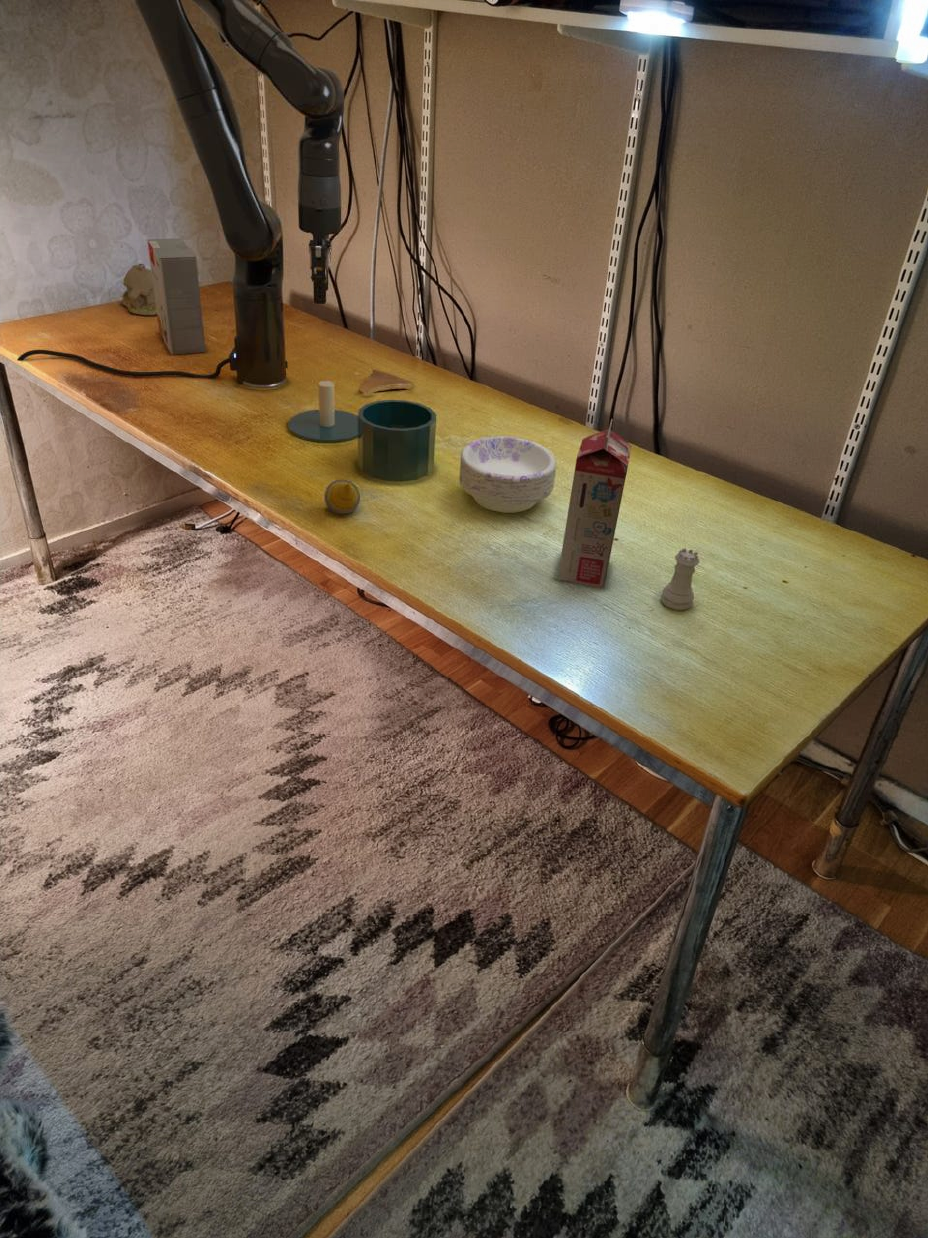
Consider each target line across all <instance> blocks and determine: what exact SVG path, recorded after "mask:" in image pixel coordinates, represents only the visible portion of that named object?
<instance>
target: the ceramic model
mask: <svg viewBox="0 0 928 1238" xmlns="http://www.w3.org/2000/svg"><path fill="white" fill-rule="evenodd" d="M123 286H124V287H125V288H126V290H124V291H123V293H122V296H121V297H122V303H121V304H122V306H125V307H126V308H127V309H128V311H129V312H130V313H132V314H136V315H144V316H157V311H156V304H155V296H154V288H153V280H152V273H151V269H149V268H146V265H145V264H144V263H138V264H134V265H132V267H131V268H130V269H128V270H127V272H126V274H125V275H124V278H123Z"/></svg>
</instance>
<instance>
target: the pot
mask: <svg viewBox="0 0 928 1238" xmlns="http://www.w3.org/2000/svg"><path fill="white" fill-rule="evenodd" d="M357 416H358V437H357V467H358V468H359V470H360V471H361V472H362V473H363V474H365V475H367V476H369V477H371V478H373V479H378V480H382V481H386V482H401V483H402V482H410V481H417V480H419V479H422V478H425V477H428V476H429V475H430V474H431V473H432V472H433V471H434V465H435V448H436V447H435V445H436V432H437V431H436V429H437V414H436V412H435V411H434V410H433V409H431V407H429V406H426V405H424V404H422V403H419V402H414V401H410V400H403V399H385V400H384V399H383V400H376V401H372V402H369V403H366V404H364V405H363V406H362V407H360V408H359V409H358V413H357Z"/></svg>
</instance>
